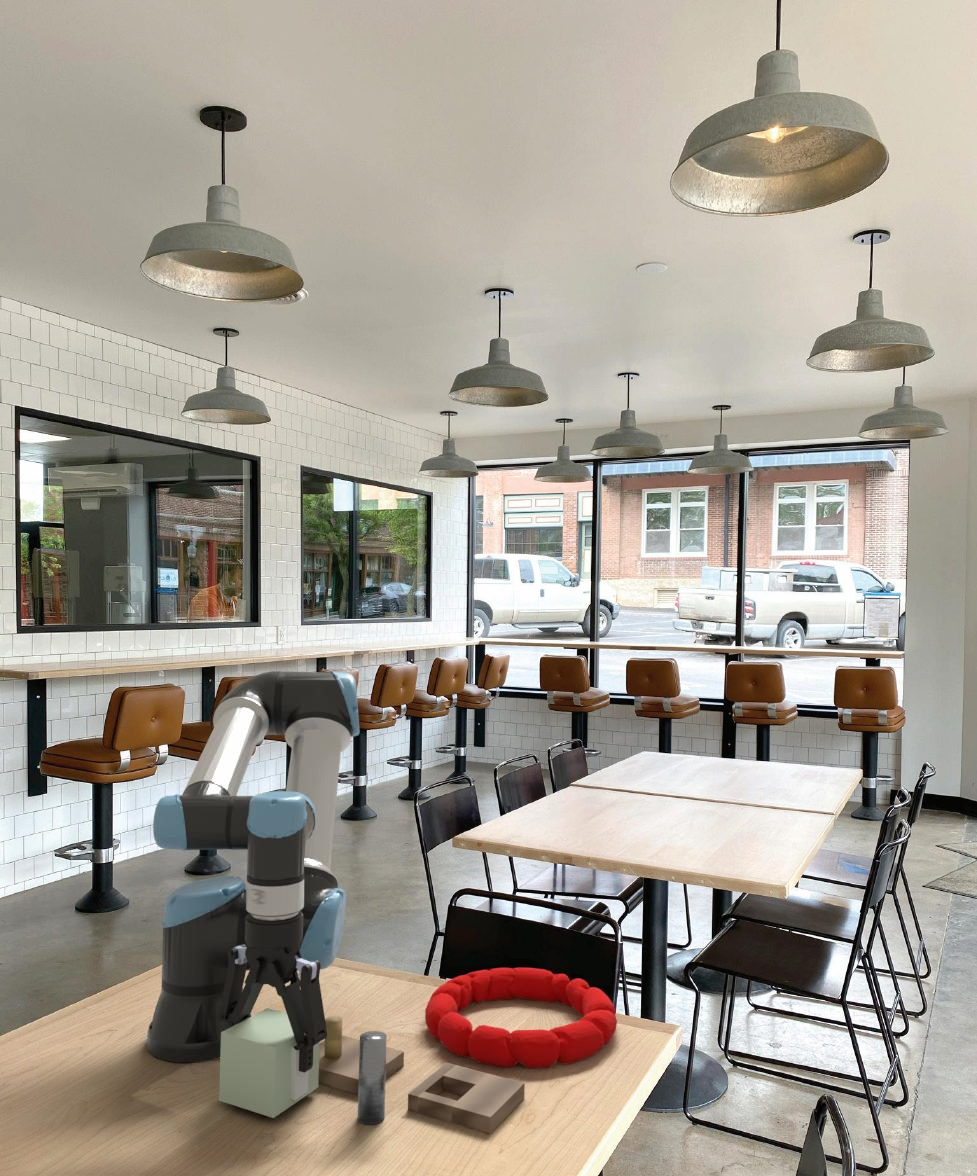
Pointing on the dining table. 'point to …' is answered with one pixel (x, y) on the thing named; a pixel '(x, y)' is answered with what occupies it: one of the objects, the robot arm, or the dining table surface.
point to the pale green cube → (261, 1064)
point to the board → (347, 1058)
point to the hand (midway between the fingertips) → (269, 1085)
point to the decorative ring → (521, 1044)
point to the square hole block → (467, 1097)
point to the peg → (372, 1077)
